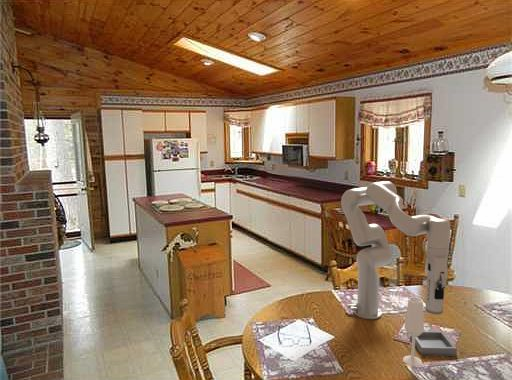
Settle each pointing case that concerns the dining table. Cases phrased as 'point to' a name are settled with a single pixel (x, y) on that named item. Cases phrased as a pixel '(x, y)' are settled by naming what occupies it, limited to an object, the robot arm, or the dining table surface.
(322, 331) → the dining table surface
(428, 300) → the travel mug
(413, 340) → the champagne flute
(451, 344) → the tray
